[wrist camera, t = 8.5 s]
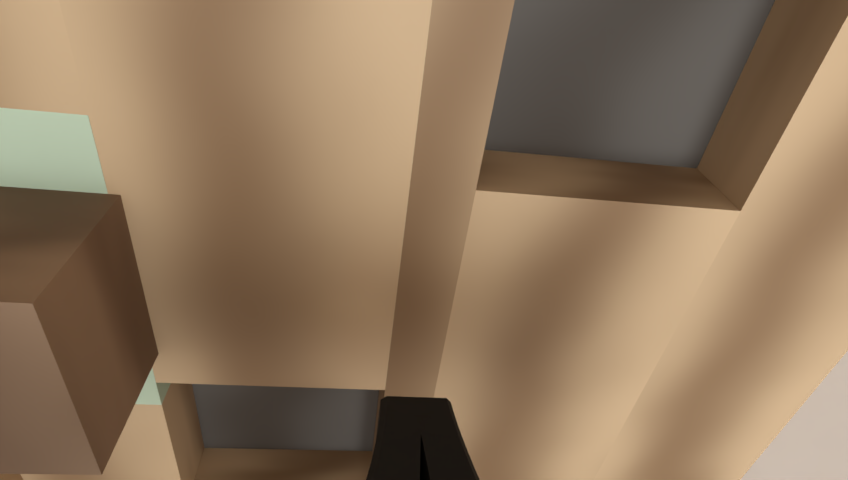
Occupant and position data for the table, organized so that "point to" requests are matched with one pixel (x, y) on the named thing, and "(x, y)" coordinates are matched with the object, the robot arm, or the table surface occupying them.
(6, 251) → the walnut block
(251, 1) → the wooden compartment tray
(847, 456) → the table surface
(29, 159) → the end pad
